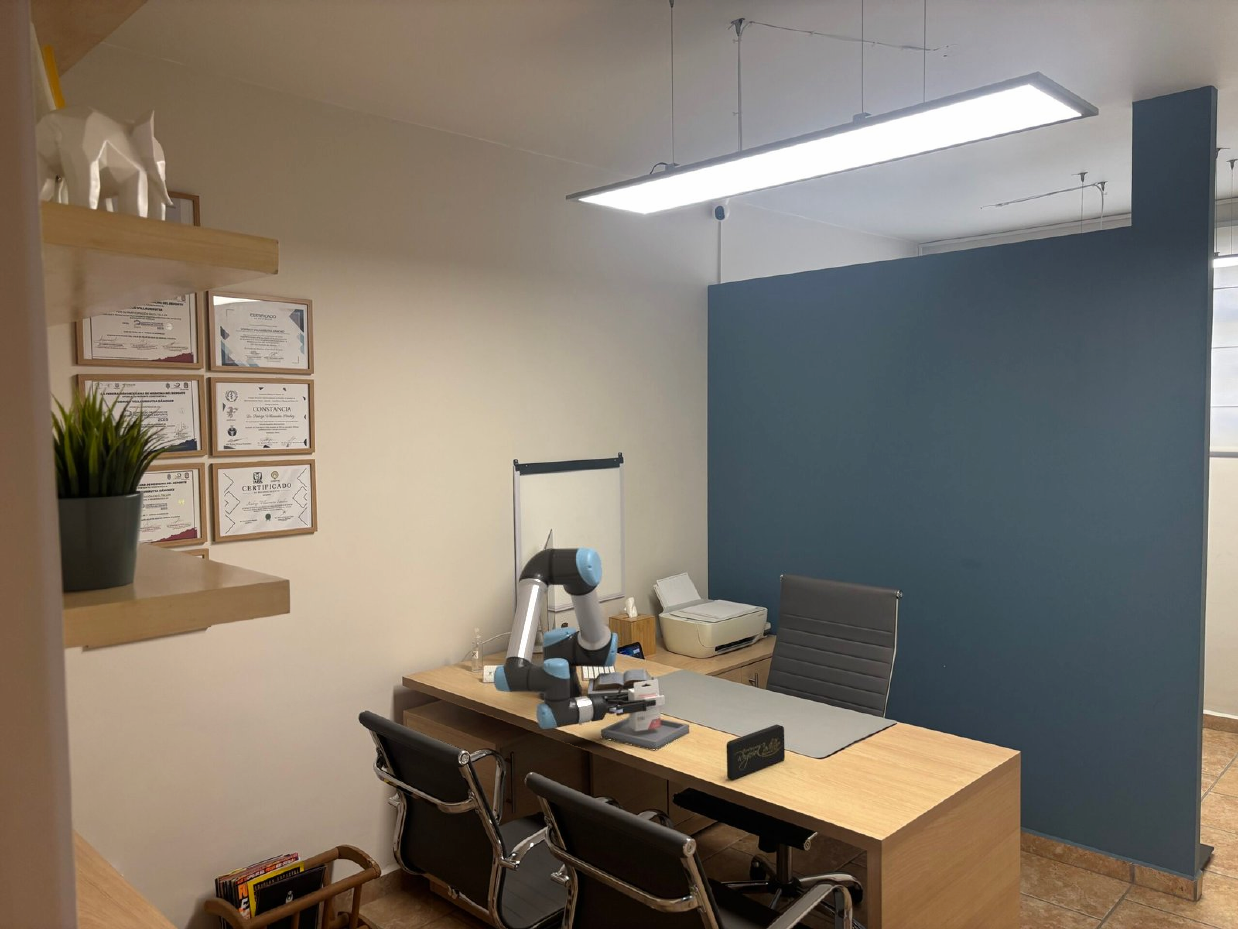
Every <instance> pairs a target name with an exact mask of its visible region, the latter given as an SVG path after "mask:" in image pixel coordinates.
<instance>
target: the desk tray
mask: <svg viewBox="0 0 1238 929" xmlns="http://www.w3.org/2000/svg"><path fill="white" fill-rule="evenodd" d="M660 720H661V727H659V728H653V729H647V730H641V731H635V730H633V729H632V728H630V724H629V716H627V717H625V718H623V719H621V720H619V721H616V722H615V723H613V724H611V725H609V726H606V727H604V728H602V729H600V737H602V738H601V739H603V738H605V739H604V740H607V739H611V740H610V741H612V740H615V741H614V742H616V741H619V742H618V743H620V742H622V743H621V744H625V743H628V744H627V745H629V744H632V745H631V746H633V745H635V746H634V747H637V746H640V747H639V748H642V747H644V748H643V749H646V748H648V749H647V750H650V749H655V750H656V749H658V750H660V749H662V748H663V747H662V746H664V747H666V746H667V745H669V744H671V743H673V742H674V740H675V741H676V739H677V740H679V739H680V738H682V737H684V736H686V735H688V734H689V733H690V724H688V723H682V722H678V721H673V720H669V719H664V718H660ZM668 743H669V744H668ZM666 744H667V745H666ZM665 745H666V746H665ZM661 747H662V748H661ZM659 748H660V749H659ZM655 750H654V751H655ZM656 751H657V750H656Z"/></svg>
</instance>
